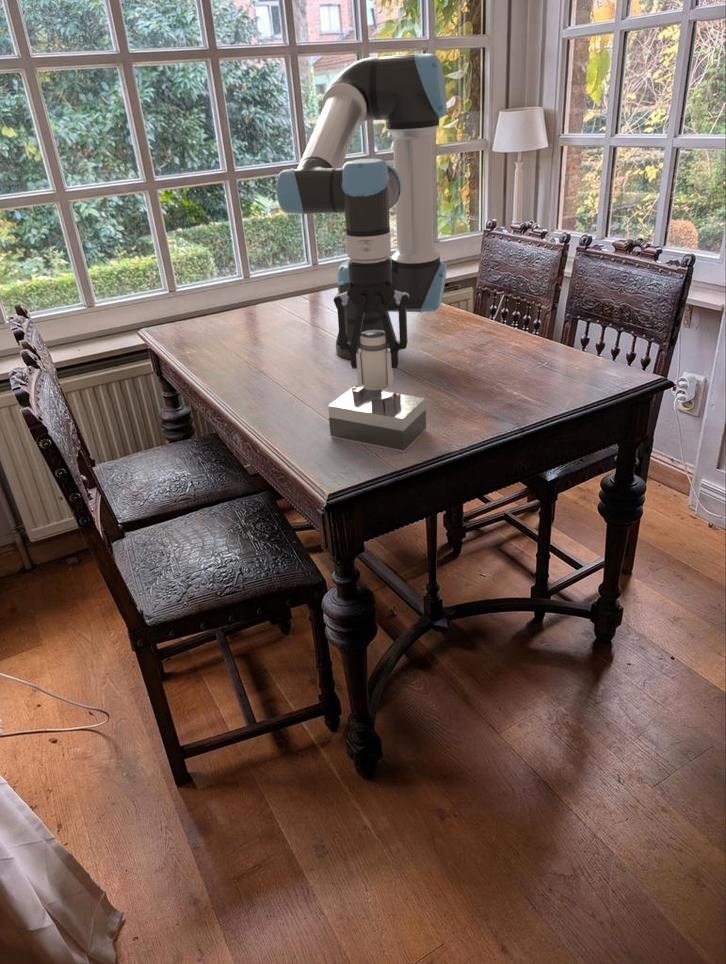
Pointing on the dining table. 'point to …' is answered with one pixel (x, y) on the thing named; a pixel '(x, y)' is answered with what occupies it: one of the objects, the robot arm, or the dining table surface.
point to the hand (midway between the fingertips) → (375, 383)
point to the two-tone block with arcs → (377, 418)
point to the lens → (374, 359)
